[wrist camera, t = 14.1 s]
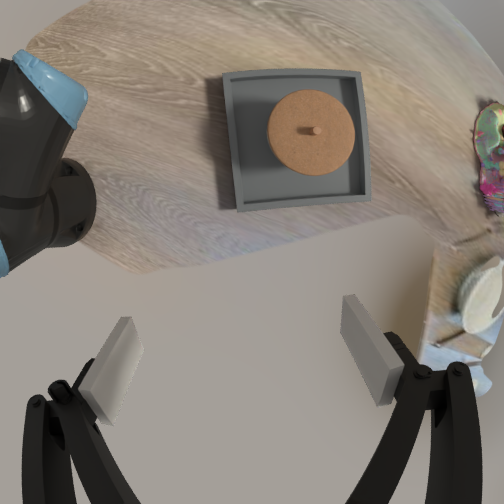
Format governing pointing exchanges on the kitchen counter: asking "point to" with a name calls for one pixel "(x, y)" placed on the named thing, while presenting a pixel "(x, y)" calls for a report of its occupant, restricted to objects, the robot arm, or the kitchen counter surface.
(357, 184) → the tray
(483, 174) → the candy landscape model
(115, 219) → the kitchen counter surface
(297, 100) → the lidded jar
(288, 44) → the kitchen counter surface
